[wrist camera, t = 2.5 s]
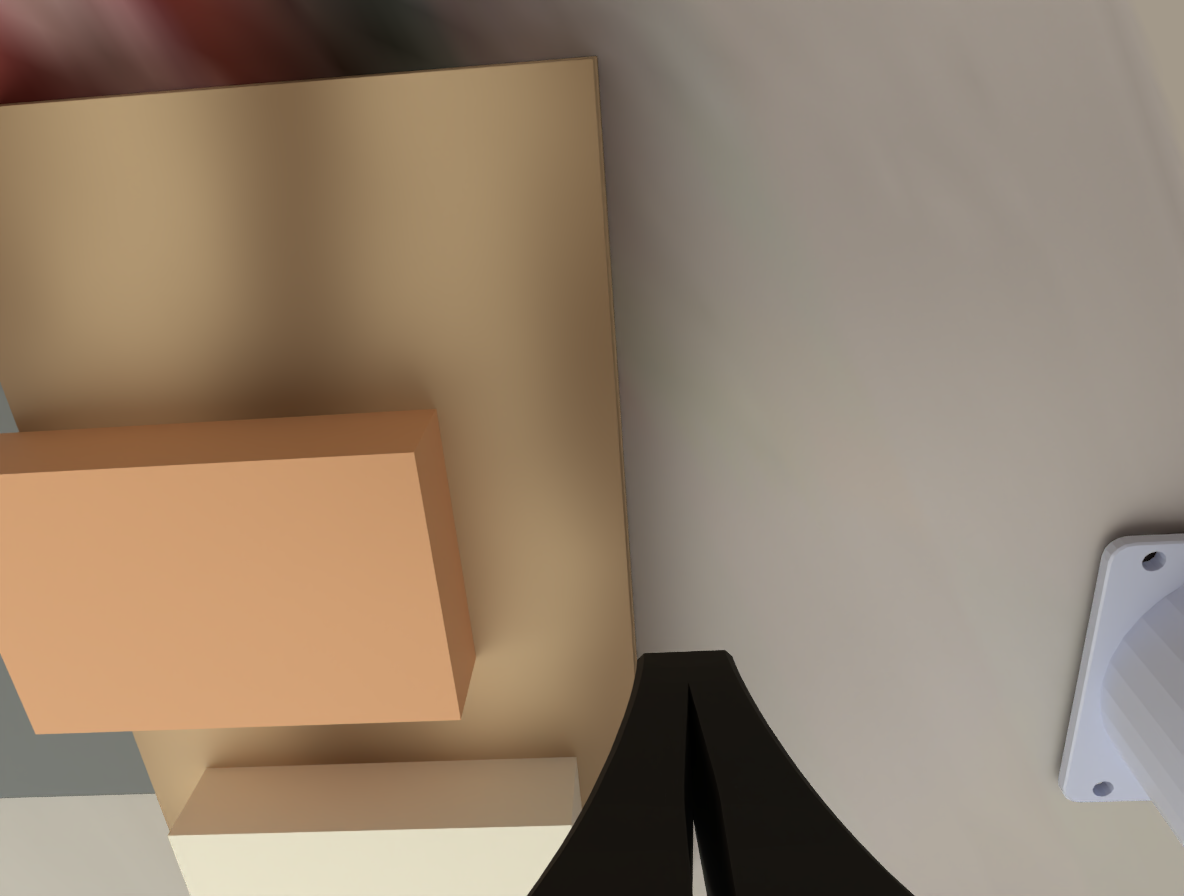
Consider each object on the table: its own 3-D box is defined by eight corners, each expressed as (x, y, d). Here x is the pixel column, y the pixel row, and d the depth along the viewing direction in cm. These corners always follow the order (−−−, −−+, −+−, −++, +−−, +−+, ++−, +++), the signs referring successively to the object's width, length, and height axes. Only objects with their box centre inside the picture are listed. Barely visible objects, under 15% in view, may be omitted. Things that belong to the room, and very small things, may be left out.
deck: (597, 55, 17) (592, 58, 14) (651, 873, 26) (653, 953, 24) (-7, 104, 18) (-101, 114, 15) (253, 882, 27) (218, 961, 24)
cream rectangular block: (576, 756, 21) (571, 825, 19) (594, 929, 23) (592, 1004, 22) (206, 768, 21) (167, 835, 20) (263, 935, 24) (233, 1008, 22)
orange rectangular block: (436, 408, 17) (413, 452, 15) (476, 657, 20) (460, 720, 18) (-5, 433, 18) (-77, 479, 16) (88, 672, 20) (35, 734, 18)
